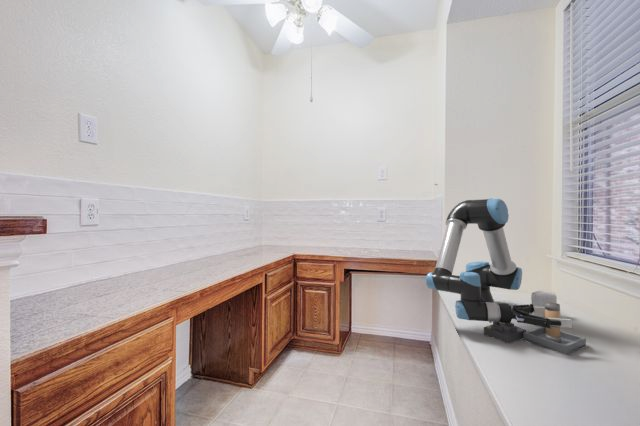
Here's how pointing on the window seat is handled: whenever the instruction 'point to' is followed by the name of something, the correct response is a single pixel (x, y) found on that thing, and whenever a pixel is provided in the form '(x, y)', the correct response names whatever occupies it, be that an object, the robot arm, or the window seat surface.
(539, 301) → the grey rounded slab
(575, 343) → the parts tray
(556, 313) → the fuse
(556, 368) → the window seat surface
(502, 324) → the fuse holder
